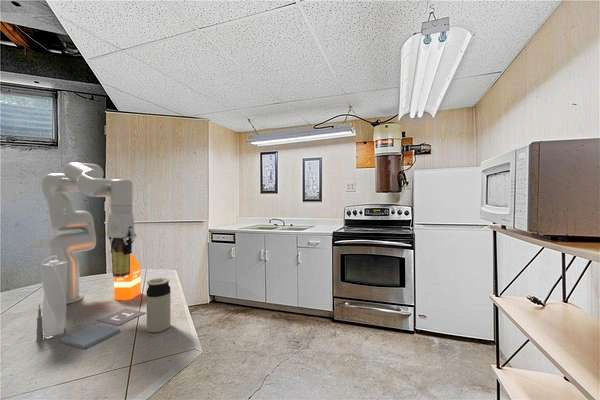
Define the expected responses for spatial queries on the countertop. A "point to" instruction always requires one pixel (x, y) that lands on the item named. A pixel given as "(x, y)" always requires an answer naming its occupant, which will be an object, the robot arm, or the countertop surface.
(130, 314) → the tile
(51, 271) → the skyscraper
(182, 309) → the countertop surface
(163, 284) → the travel mug
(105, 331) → the pad
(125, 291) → the orange juice
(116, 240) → the sauce bottle
